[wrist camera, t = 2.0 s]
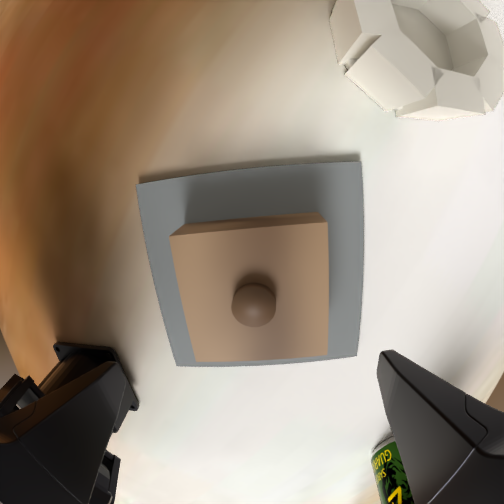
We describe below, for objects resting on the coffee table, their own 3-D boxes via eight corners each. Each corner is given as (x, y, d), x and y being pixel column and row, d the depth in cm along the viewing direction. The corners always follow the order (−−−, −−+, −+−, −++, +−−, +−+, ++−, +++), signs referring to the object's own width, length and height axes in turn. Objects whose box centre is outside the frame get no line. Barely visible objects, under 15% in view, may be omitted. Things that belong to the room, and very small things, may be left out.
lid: (205, 335, 17) (193, 368, 14) (184, 223, 15) (164, 239, 12) (320, 329, 17) (329, 361, 14) (317, 211, 15) (330, 225, 12)
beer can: (426, 426, 20) (464, 520, 9) (406, 455, 22) (432, 540, 11) (379, 435, 21) (408, 542, 9) (362, 463, 22) (381, 557, 11)
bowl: (345, 115, 13) (374, 99, 9) (319, -17, 11) (332, -60, 6) (473, 126, 13) (520, 123, 8) (445, 6, 10) (478, -18, 6)
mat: (178, 362, 19) (176, 366, 18) (138, 183, 15) (135, 184, 15) (355, 352, 18) (356, 356, 17) (358, 161, 14) (361, 161, 14)
